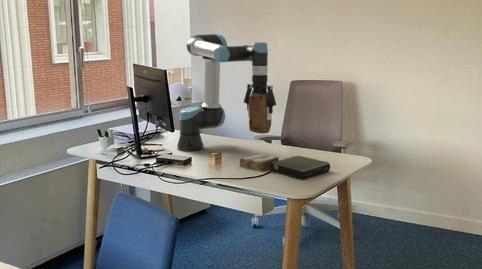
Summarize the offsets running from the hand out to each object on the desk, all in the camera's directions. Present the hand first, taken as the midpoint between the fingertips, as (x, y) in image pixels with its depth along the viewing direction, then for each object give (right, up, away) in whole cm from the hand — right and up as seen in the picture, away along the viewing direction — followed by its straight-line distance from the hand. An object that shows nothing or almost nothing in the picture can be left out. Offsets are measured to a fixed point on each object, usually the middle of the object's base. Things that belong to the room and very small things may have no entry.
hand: (259, 118), depth 264 cm
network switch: (+20, -27, -5) cm, 33 cm away
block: (0, -7, +2) cm, 7 cm away
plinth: (0, -24, +5) cm, 24 cm away
